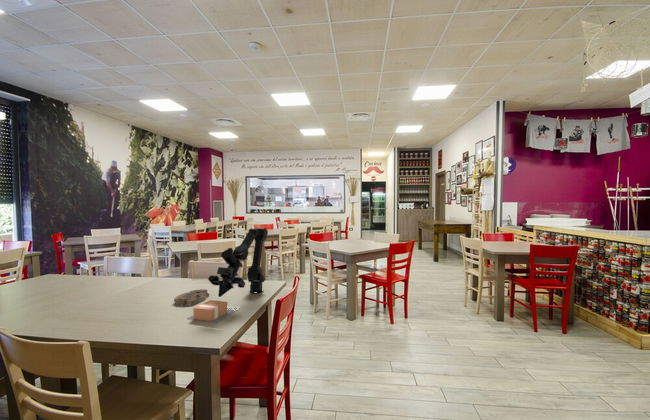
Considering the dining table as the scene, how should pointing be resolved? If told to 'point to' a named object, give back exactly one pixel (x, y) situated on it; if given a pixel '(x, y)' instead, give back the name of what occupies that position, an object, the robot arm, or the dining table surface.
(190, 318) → the mat
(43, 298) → the dining table surface
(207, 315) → the tall box
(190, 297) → the weathered wood piece
